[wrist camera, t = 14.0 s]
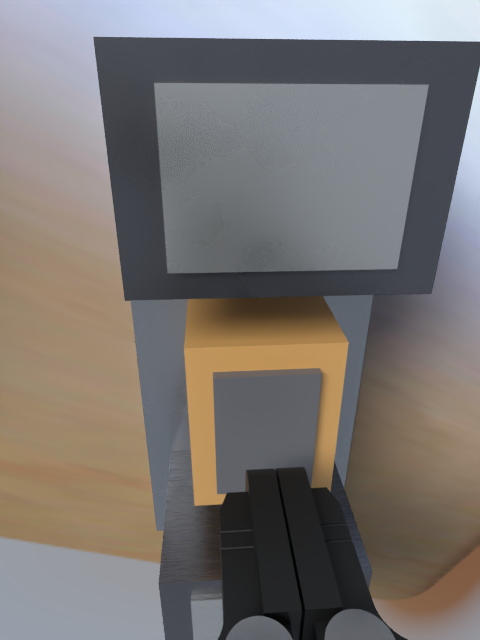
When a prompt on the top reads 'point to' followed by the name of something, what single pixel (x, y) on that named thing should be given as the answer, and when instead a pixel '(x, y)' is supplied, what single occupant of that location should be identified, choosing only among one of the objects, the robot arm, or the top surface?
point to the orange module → (262, 389)
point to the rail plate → (268, 222)
